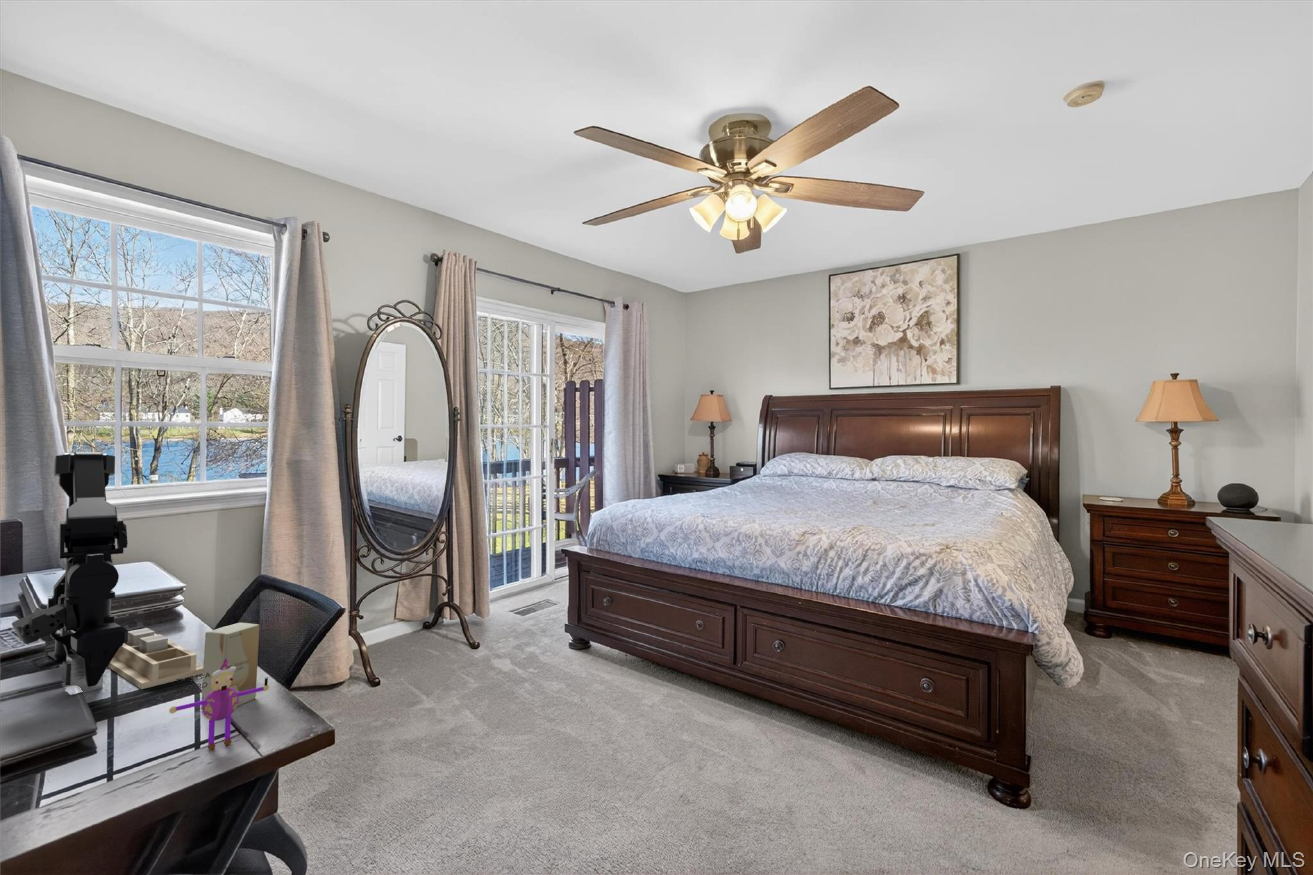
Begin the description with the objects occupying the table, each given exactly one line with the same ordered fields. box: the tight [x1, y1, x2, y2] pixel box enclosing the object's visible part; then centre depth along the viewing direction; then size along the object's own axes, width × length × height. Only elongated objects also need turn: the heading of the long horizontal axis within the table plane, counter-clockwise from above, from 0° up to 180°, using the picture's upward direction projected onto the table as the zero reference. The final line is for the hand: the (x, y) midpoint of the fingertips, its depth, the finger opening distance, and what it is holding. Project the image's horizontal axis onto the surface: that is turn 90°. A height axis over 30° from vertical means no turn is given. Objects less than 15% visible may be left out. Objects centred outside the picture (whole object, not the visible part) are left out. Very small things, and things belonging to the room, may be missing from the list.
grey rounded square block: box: [61, 654, 104, 693], centre depth 98 cm, size 4×3×6 cm, turn 147°
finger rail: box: [107, 627, 204, 690], centre depth 109 cm, size 21×9×6 cm, turn 57°
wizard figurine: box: [168, 658, 270, 751], centre depth 81 cm, size 11×3×12 cm, turn 136°
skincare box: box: [200, 622, 260, 711], centre depth 94 cm, size 6×4×12 cm
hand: (84, 680), depth 99 cm, fingers open, 8 cm apart
